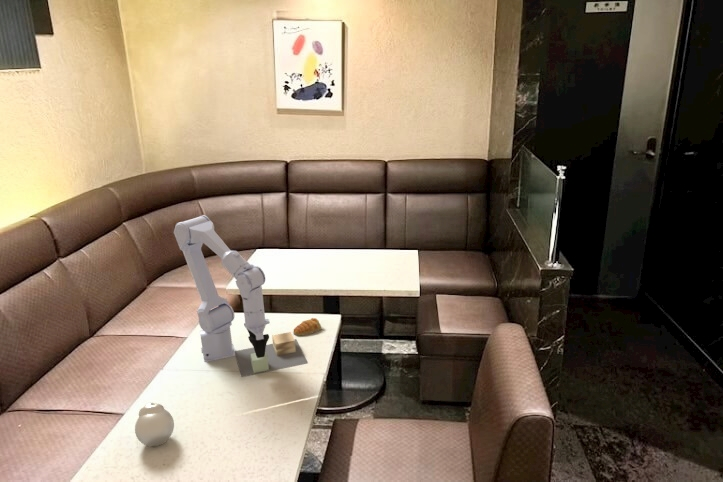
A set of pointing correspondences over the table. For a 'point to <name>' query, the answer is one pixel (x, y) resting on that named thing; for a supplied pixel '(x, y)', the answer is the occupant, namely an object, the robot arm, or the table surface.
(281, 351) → the tower base slab
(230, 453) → the table surface
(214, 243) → the robot arm
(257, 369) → the green block
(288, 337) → the tower top slab
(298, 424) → the table surface
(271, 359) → the mat
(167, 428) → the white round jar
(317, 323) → the pastry
